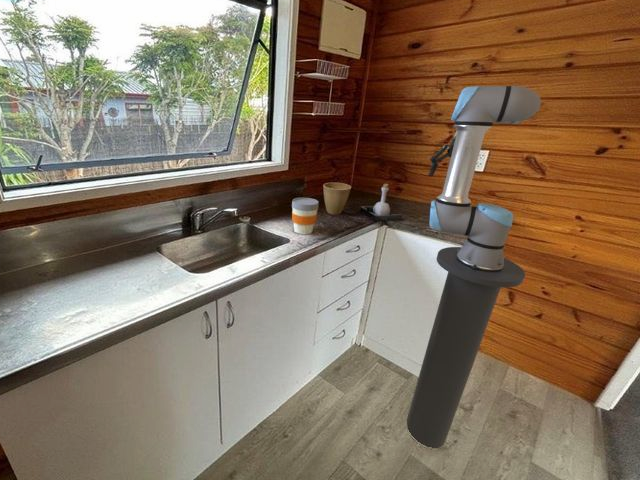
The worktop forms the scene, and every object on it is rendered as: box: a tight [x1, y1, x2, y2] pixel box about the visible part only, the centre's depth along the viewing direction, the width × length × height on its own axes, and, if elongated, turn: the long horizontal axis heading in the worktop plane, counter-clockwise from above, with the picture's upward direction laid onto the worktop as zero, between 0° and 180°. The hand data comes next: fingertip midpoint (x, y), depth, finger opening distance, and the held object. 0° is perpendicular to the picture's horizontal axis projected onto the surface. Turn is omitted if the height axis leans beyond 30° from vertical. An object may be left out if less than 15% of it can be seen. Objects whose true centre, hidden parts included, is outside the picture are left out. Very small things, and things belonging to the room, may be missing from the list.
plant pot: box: [322, 182, 352, 216], centre depth 170 cm, size 15×15×16 cm
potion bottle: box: [372, 183, 391, 215], centre depth 167 cm, size 9×9×18 cm
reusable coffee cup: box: [291, 197, 320, 235], centre depth 145 cm, size 12×13×15 cm
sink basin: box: [359, 205, 403, 222], centre depth 169 cm, size 16×16×5 cm
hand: (442, 180), depth 154 cm, fingers open, 13 cm apart
